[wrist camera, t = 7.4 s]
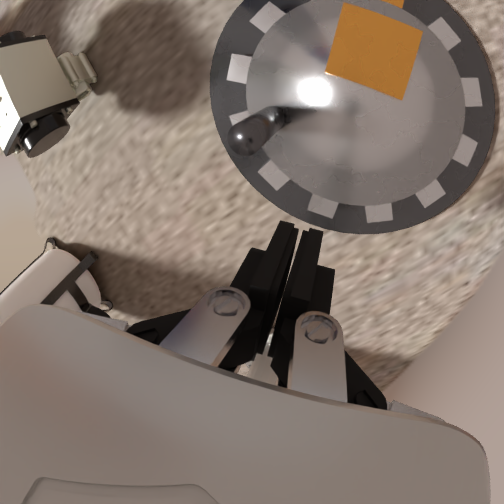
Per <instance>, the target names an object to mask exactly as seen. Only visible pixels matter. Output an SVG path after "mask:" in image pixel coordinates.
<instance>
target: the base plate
mask: <svg viewBox="0 0 504 504" xmlns="http://www.w3.org/2000/svg"><path fill="white" fill-rule="evenodd" d="M269 1H270V2H271V3H272V4H274V5H275V6H276V7H278V8H279V9H280V10H282V11H283V12H284V13H285V14H286V13H288V12H289V11H291V10H293V9H294V8H296V7H298V6H300V5H302V4H304V3H307V2H309V1H311V0H244V1H243V2H242V3H241V4H240V5H239V6H238V8H237V9H236V10H235V11H234V13H233V14H232V16H231V17H230V19H229V20H228V22H227V23H226V25H225V27H224V29H223V31H222V33H221V35H220V37H219V39H218V42H217V45H216V49H215V52H214V55H213V60H212V66H211V72H210V98H211V106H212V112H213V116H214V120H215V124H216V127H217V130H218V132H219V135H220V138H221V140H222V143H223V145H224V147H225V148H226V150H227V152H228V154H229V156H230V158H231V159H232V161H233V162H234V164H235V165H236V167H237V168H238V169H239V171H240V172H241V174H242V175H243V176H244V177H245V178H246V179H247V180H248V182H249V183H250V184H251V185H252V186H253V187H254V188H255V189H256V190H257V191H258V192H260V193H261V194H262V195H263V196H264V197H265V198H266V199H268V200H269V201H270V202H272V203H273V204H274V205H276V206H277V207H278V208H280V209H282V210H283V211H285V212H287V213H289V214H290V215H292V216H294V217H296V218H298V219H300V220H303V221H305V222H307V223H309V224H312V225H315V226H318V227H321V228H324V229H328V230H333V231H338V232H343V233H353V234H379V233H387V232H394V231H398V230H401V229H405V228H409V227H412V226H414V225H417V224H419V223H422V222H424V221H426V220H428V219H430V218H432V217H433V216H435V215H437V214H439V213H440V212H442V211H443V210H444V209H446V208H447V207H448V206H450V205H451V204H452V203H453V202H454V201H455V200H456V199H458V198H459V197H460V196H461V195H462V194H463V193H464V192H465V190H466V189H467V188H468V186H469V185H470V184H471V183H472V181H473V180H474V179H475V177H476V175H477V173H478V172H479V170H480V168H481V167H482V165H483V162H484V160H485V158H486V155H487V153H488V150H489V147H490V143H491V139H492V135H493V130H494V120H495V98H494V90H493V84H492V79H491V75H490V72H489V69H488V66H487V63H486V60H485V57H484V55H483V53H482V51H481V49H480V47H479V45H478V43H477V41H476V39H475V37H474V36H473V34H472V33H471V31H470V30H469V28H468V27H467V25H466V24H465V22H464V21H463V20H462V19H461V18H460V17H459V15H458V14H457V13H456V12H455V11H454V10H453V9H452V8H451V7H450V6H449V5H448V4H447V3H446V2H445V1H444V0H404V3H403V7H402V9H403V10H405V11H406V12H408V13H410V14H411V15H413V16H415V17H416V18H417V19H419V20H420V21H421V22H422V23H423V24H425V25H426V26H427V25H429V24H430V23H431V22H433V21H434V20H436V19H438V18H440V17H442V18H443V19H444V20H445V22H446V23H447V24H448V25H449V26H450V28H451V29H452V30H453V31H454V32H455V34H456V35H457V36H458V37H459V39H460V40H461V42H459V43H458V44H457V45H455V46H454V47H453V48H451V49H450V50H449V51H448V52H449V54H450V56H451V58H452V59H453V61H454V63H455V65H456V68H457V70H458V73H459V76H460V77H476V78H478V81H479V86H480V93H481V99H482V106H474V107H465V122H464V127H463V134H465V135H467V136H469V137H470V138H472V139H473V140H475V141H476V142H477V143H478V144H477V146H476V149H475V151H474V153H473V156H472V158H471V160H470V163H469V165H468V167H467V166H465V165H463V164H461V163H459V162H458V161H456V160H454V159H451V161H450V162H449V164H448V165H447V167H446V168H445V169H444V171H443V172H442V173H441V174H440V175H439V176H438V177H437V178H436V179H437V181H438V182H439V184H440V185H441V187H442V188H443V190H444V192H445V193H446V194H445V195H443V196H442V197H440V198H439V199H438V200H436V201H435V202H433V203H432V204H430V205H429V206H428V207H426V208H424V206H423V205H422V203H421V202H420V200H419V199H418V197H417V196H416V195H415V194H413V195H411V196H409V197H407V198H405V199H402V200H399V201H395V202H392V203H391V205H392V215H393V220H390V221H381V222H372V223H367V217H366V210H365V206H359V205H348V204H343V203H339V204H338V206H337V209H336V211H335V214H334V216H333V219H332V218H329V217H326V216H323V215H320V214H318V213H315V212H312V211H309V210H307V209H308V206H309V203H310V200H311V197H312V194H313V193H311V192H309V191H307V190H306V189H304V188H302V187H300V186H299V185H298V184H296V183H295V182H293V181H292V180H291V179H290V180H289V181H288V182H286V183H285V184H284V185H283V186H282V187H281V188H279V189H278V190H277V191H276V190H275V189H274V188H273V187H272V186H271V185H270V184H269V183H268V182H267V181H266V180H265V179H264V178H263V177H262V176H261V175H260V174H259V173H258V171H259V169H260V168H261V167H262V166H263V165H264V164H265V163H266V162H267V161H268V160H269V159H270V158H269V157H268V155H267V154H266V152H265V151H264V150H263V148H262V147H261V148H260V149H259V150H258V151H257V152H256V153H255V154H253V155H250V156H242V155H239V154H237V153H235V152H234V151H233V150H232V149H231V148H230V146H229V144H228V140H227V136H228V132H229V130H230V128H231V127H232V126H233V125H232V122H231V120H230V117H229V116H230V115H232V114H234V113H237V112H240V111H244V110H247V109H248V108H247V100H246V84H244V83H239V82H234V81H229V80H227V75H228V70H229V65H230V60H231V55H232V54H242V55H247V56H253V54H254V52H255V50H256V48H257V45H258V44H259V42H260V41H261V39H262V38H263V36H264V35H265V33H264V32H263V31H261V30H260V29H259V28H257V27H256V26H255V25H254V24H252V23H251V22H250V20H251V19H252V18H253V17H254V16H255V15H256V14H257V13H258V12H259V11H260V10H261V9H262V8H263V7H264V6H265V5H266V4H267V3H268V2H269Z"/></svg>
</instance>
